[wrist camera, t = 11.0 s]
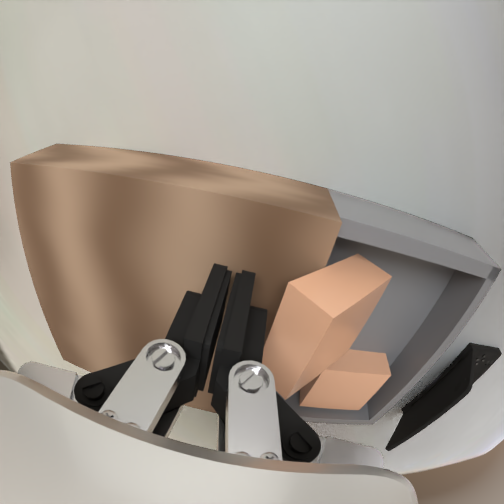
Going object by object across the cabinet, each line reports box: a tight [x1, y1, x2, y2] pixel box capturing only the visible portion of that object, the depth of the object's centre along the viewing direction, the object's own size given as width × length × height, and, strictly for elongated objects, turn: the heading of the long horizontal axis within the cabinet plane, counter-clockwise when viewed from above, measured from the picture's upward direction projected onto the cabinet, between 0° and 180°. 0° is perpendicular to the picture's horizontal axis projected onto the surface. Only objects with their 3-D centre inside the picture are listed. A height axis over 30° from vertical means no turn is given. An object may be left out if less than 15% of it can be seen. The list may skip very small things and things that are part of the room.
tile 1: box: [299, 349, 391, 410], centre depth 18 cm, size 5×5×2 cm
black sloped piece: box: [386, 343, 502, 451], centre depth 18 cm, size 12×7×10 cm
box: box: [276, 189, 501, 424], centre depth 16 cm, size 10×16×4 cm, turn 169°
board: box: [10, 144, 342, 413], centre depth 16 cm, size 16×16×4 cm
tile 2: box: [262, 254, 392, 400], centre depth 12 cm, size 5×5×2 cm
